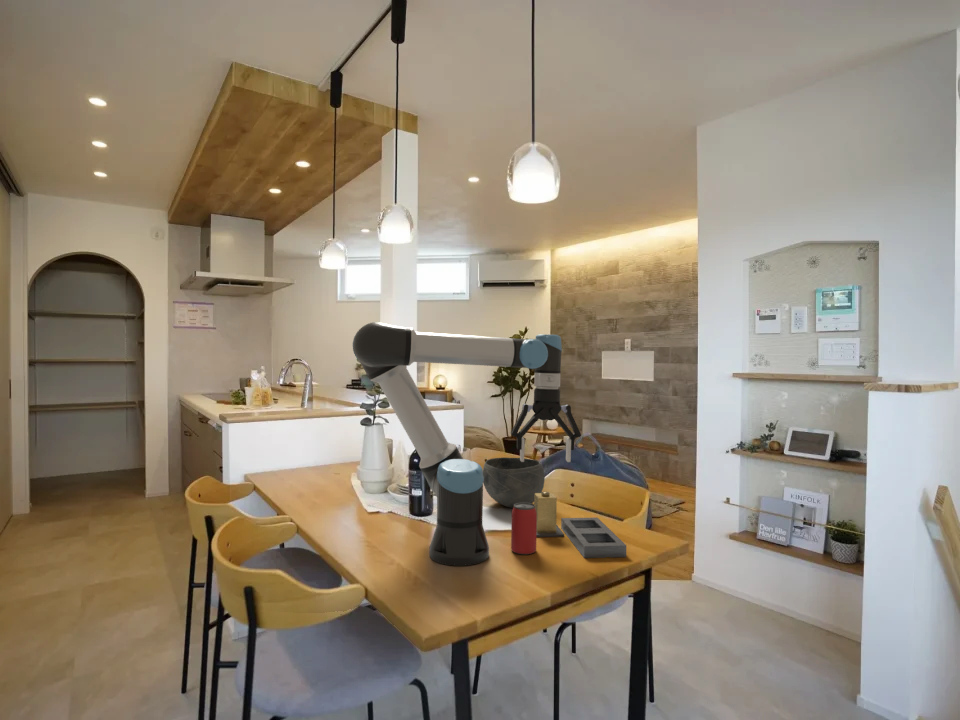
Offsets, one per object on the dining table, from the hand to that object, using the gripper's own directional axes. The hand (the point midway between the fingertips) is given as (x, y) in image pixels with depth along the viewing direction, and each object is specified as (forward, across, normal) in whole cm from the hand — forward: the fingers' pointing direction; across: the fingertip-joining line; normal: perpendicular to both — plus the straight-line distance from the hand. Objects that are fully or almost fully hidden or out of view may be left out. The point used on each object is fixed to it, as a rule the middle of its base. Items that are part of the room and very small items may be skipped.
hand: (545, 461), depth 161 cm
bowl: (+21, -4, +28) cm, 35 cm away
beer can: (+21, -8, -15) cm, 27 cm away
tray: (+20, +12, -9) cm, 25 cm away
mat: (+21, +1, 0) cm, 21 cm away
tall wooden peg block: (+20, 0, 0) cm, 20 cm away
